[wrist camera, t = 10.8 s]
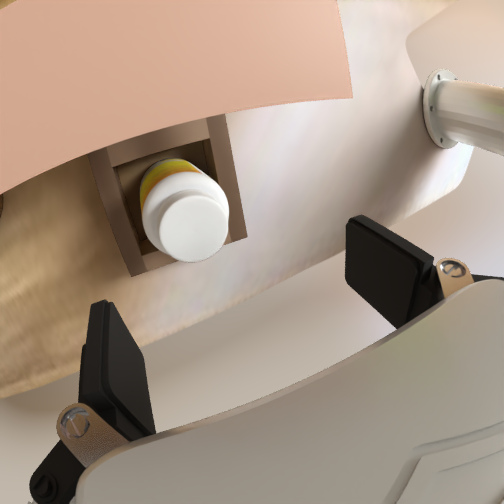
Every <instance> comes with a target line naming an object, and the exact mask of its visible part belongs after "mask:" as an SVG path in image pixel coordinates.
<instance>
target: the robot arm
mask: <svg viewBox="0 0 504 504" xmlns="http://www.w3.org/2000/svg"><path fill="white" fill-rule="evenodd" d="M423 111H424V119H425V123H426V127H427V130H428V133H429V135H430V137H431V139H432V140H433V141H434V143H435V144H437V145H438V146H440V147H442V148H446V149H449V148H452V147H454V146H455V145H456V144H457V143H458V142H461V143H464V144H468V145H471V146H475V147H478V148H481V149H484V150H487V151H490V152H493V153H496V154H499V155H502V156H504V88H503V87H497V86H492V85H487V84H481V83H475V82H467V81H460V80H458V79H457V78H456V76H455V75H454V74H453V73H452V72H450V71H448V70H446V69H436V70H435V71H433V72H432V73H431V74H430V76H429V78H428V79H427V82H426V85H425V89H424V96H423ZM345 259H346V261H345V279H346V282H347V284H348V285H349V286H350V287H352V289H354V290H355V291H356V292H357V293H358V294H359V295H360V296H361V297H362V298H364V299H365V300H366V301H367V302H368V303H369V304H370V305H371V306H372V307H373V308H375V309H376V310H377V311H378V312H379V313H380V314H381V315H382V316H383V317H384V318H385V319H386V320H387V321H389V322H390V323H391V324H392V325H393V326H394V327H395V328H396V329H397V330H395V331H394V332H392V333H390V334H389V335H387V336H385V337H384V338H382V339H380V340H379V341H377V342H375V343H373V344H372V345H370V346H368V347H366V348H364V349H363V350H361V351H359V352H357V353H355V354H354V355H352V356H350V357H348V358H346V359H344V360H342V361H340V362H338V363H336V364H335V365H333V366H331V367H329V368H327V369H325V370H323V371H321V372H319V373H317V374H314V375H312V376H310V377H308V378H306V379H304V380H302V381H299V382H297V383H295V384H293V385H290V386H288V387H286V388H284V389H281V390H279V391H277V392H274V393H272V394H270V395H267V396H265V397H263V398H260V399H257V400H255V401H252V402H250V403H247V404H245V405H242V406H239V407H236V408H234V409H231V410H228V411H225V412H223V413H219V414H217V415H214V416H211V417H208V418H205V419H202V420H200V421H196V422H193V423H190V424H187V425H183V426H180V427H177V428H174V429H170V430H166V431H163V432H160V433H157V434H156V430H155V425H154V419H153V414H152V408H151V403H150V397H149V391H148V384H147V377H146V370H145V363H144V358H143V355H142V353H141V351H140V349H139V347H138V346H137V344H136V342H135V341H134V339H133V337H132V336H131V334H130V332H129V330H128V329H127V327H126V325H125V323H124V322H123V320H122V318H121V316H120V314H119V312H118V311H117V309H116V307H115V305H114V303H113V302H109V303H108V301H107V300H102V301H99V302H96V303H93V304H91V308H90V315H89V322H88V330H87V338H86V344H84V345H83V347H82V354H81V365H80V380H79V397H78V403H75V404H72V405H70V406H68V407H66V408H65V409H64V410H63V411H62V413H61V414H60V415H59V417H58V420H57V426H56V429H57V433H58V435H59V437H60V440H59V442H58V443H57V444H56V445H55V447H54V448H53V449H52V450H51V452H50V453H49V454H48V455H47V457H46V458H45V459H44V460H43V462H42V463H41V464H40V465H39V467H38V468H37V469H36V471H35V472H34V473H33V475H32V477H31V479H30V484H29V486H30V493H31V496H32V498H33V502H32V503H31V502H28V504H504V278H503V277H493V276H483V275H473V274H471V273H470V271H469V269H468V267H467V266H466V265H465V264H464V263H463V262H461V261H459V260H456V259H452V258H444V259H441V260H440V261H438V262H437V264H436V267H435V266H434V265H433V260H434V257H433V256H431V255H429V254H428V253H427V252H425V251H424V250H422V249H420V248H419V247H417V246H415V245H414V244H412V243H411V242H409V241H407V240H406V239H404V238H402V237H400V236H399V235H397V234H395V233H394V232H392V231H390V230H389V229H387V228H385V227H384V226H382V225H380V224H378V223H377V222H375V221H373V220H371V219H369V218H368V217H366V216H364V215H359V216H356V217H353V218H350V219H349V221H348V223H347V224H346V258H345Z"/></svg>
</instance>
